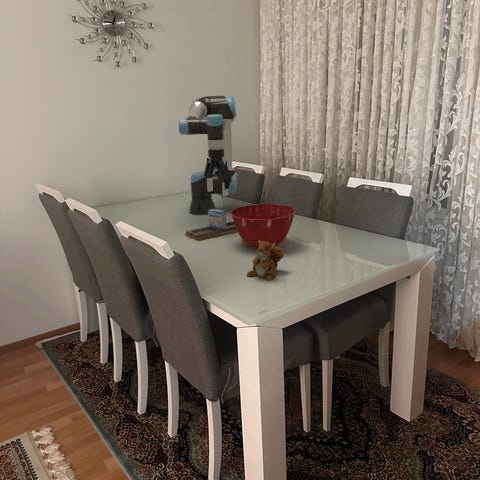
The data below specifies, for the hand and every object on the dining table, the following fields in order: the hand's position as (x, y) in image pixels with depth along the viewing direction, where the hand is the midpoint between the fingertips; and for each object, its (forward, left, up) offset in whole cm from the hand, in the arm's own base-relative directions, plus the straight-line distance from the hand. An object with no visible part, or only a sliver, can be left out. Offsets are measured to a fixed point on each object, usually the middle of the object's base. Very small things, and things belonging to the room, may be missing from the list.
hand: (217, 193), depth 219 cm
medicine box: (+1, -2, -17) cm, 17 cm away
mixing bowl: (+30, +3, -19) cm, 36 cm away
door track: (+1, -2, -19) cm, 19 cm away
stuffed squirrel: (+59, -18, -19) cm, 65 cm away
